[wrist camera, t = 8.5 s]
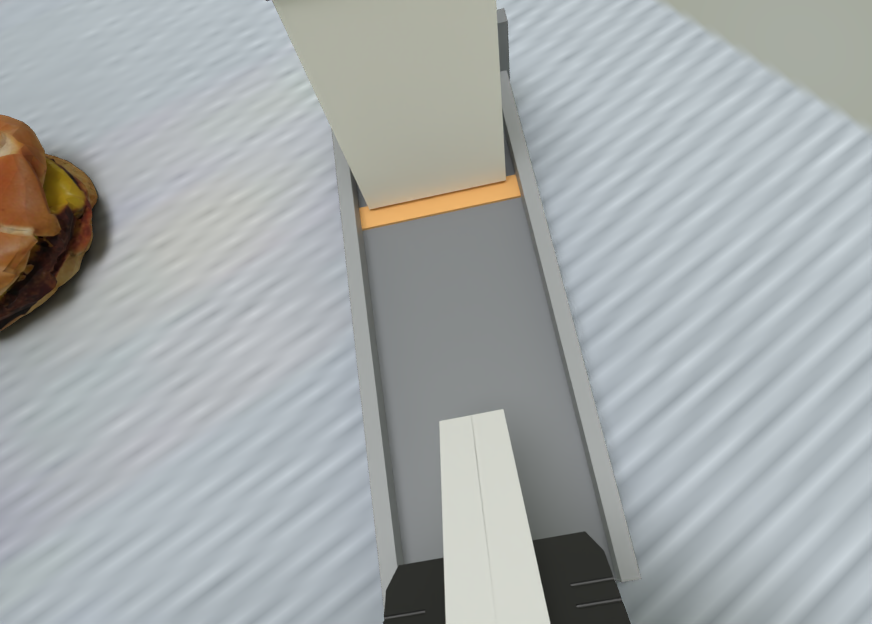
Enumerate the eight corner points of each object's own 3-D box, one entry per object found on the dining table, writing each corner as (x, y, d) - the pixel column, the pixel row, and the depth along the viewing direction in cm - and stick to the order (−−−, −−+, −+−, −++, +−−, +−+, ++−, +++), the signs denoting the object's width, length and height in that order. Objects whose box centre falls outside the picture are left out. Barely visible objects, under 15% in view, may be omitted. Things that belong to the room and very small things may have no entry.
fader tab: (509, 182, 21) (496, -88, 12) (366, 212, 21) (252, -27, 12) (497, 132, 22) (477, -154, 13) (360, 162, 22) (249, -96, 13)
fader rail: (631, 574, 17) (663, 583, 13) (398, 613, 18) (360, 632, 14) (507, 98, 24) (503, 8, 20) (341, 135, 25) (305, 54, 21)
